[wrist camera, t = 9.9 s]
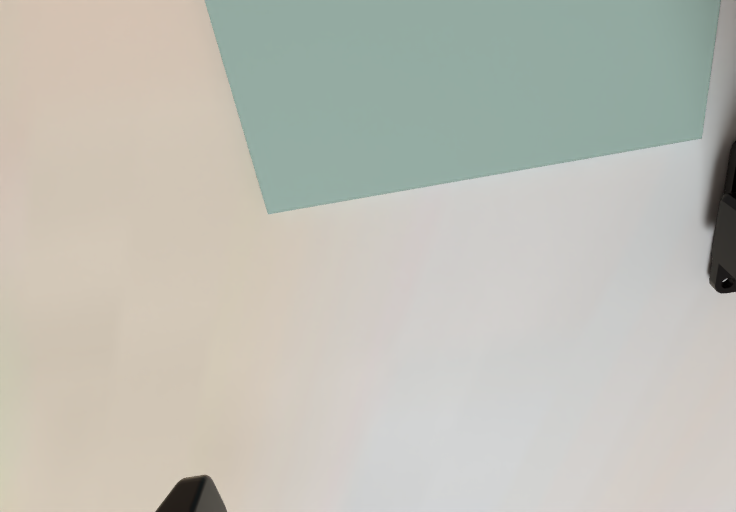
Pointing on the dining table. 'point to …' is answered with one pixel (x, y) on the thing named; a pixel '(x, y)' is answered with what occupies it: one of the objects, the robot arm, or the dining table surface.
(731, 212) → the robot arm
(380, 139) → the teal mat
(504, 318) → the dining table surface
